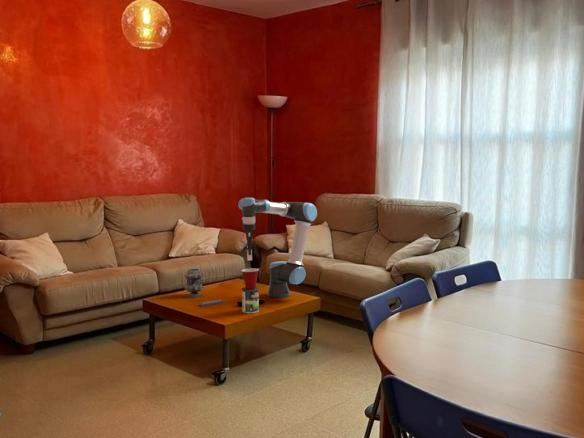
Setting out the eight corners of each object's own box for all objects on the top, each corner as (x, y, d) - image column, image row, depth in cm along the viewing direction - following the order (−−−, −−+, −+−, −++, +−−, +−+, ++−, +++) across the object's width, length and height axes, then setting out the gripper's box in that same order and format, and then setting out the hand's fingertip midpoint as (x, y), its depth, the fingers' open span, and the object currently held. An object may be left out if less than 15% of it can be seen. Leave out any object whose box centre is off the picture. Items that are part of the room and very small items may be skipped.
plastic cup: (252, 285, 342) (251, 266, 340) (262, 288, 334) (262, 269, 332) (237, 288, 335) (237, 268, 333) (248, 291, 326) (248, 271, 325)
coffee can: (262, 310, 337) (262, 288, 335) (251, 314, 329) (251, 291, 327) (249, 307, 343) (249, 285, 341) (238, 311, 335) (238, 288, 333)
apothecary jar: (204, 293, 379) (203, 267, 377) (202, 297, 367) (201, 271, 365) (186, 293, 378) (186, 267, 376) (183, 298, 366) (183, 271, 364)
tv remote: (220, 302, 358) (220, 299, 358) (223, 303, 354) (223, 300, 354) (199, 305, 349) (199, 302, 349) (202, 307, 346) (202, 304, 345)
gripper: (242, 220, 343) (243, 254, 346) (242, 226, 318) (243, 262, 321) (254, 220, 344) (255, 254, 346) (255, 226, 319) (256, 262, 322)
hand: (249, 258), depth 334 cm, fingers open, 13 cm apart
